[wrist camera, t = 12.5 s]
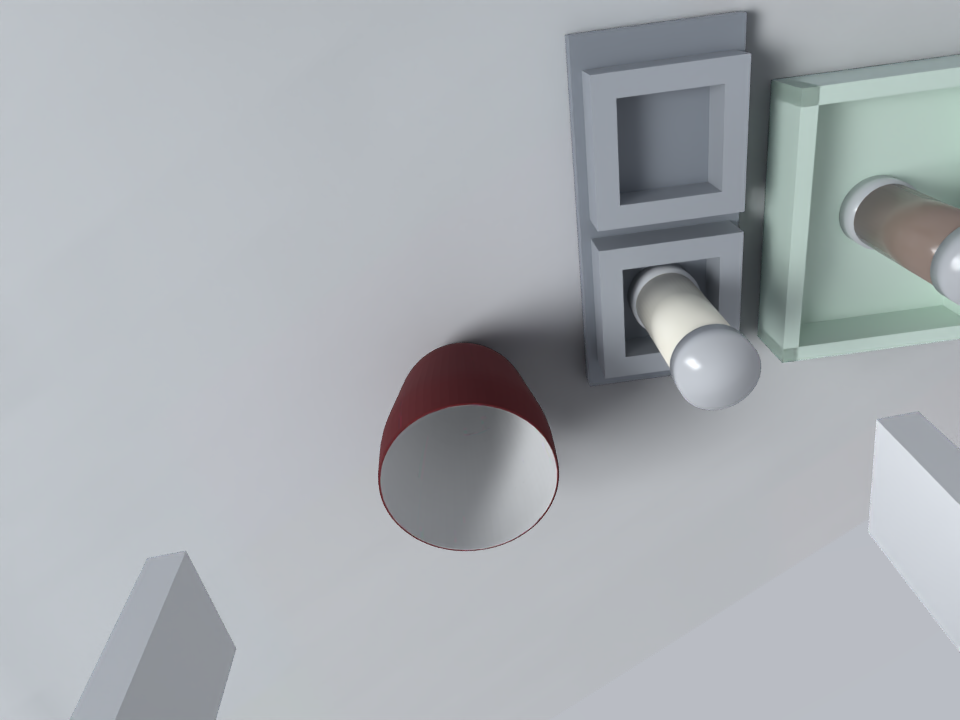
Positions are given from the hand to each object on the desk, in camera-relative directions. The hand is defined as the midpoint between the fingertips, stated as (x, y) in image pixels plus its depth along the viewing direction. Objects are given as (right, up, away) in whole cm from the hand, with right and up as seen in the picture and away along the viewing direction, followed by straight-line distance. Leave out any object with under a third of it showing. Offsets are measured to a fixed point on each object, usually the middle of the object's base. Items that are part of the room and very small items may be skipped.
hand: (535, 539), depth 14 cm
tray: (+19, +12, +24) cm, 33 cm away
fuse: (+8, +7, +25) cm, 27 cm away
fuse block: (+8, +11, +24) cm, 27 cm away
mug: (-2, +2, +28) cm, 28 cm away
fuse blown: (+19, +11, +23) cm, 32 cm away
